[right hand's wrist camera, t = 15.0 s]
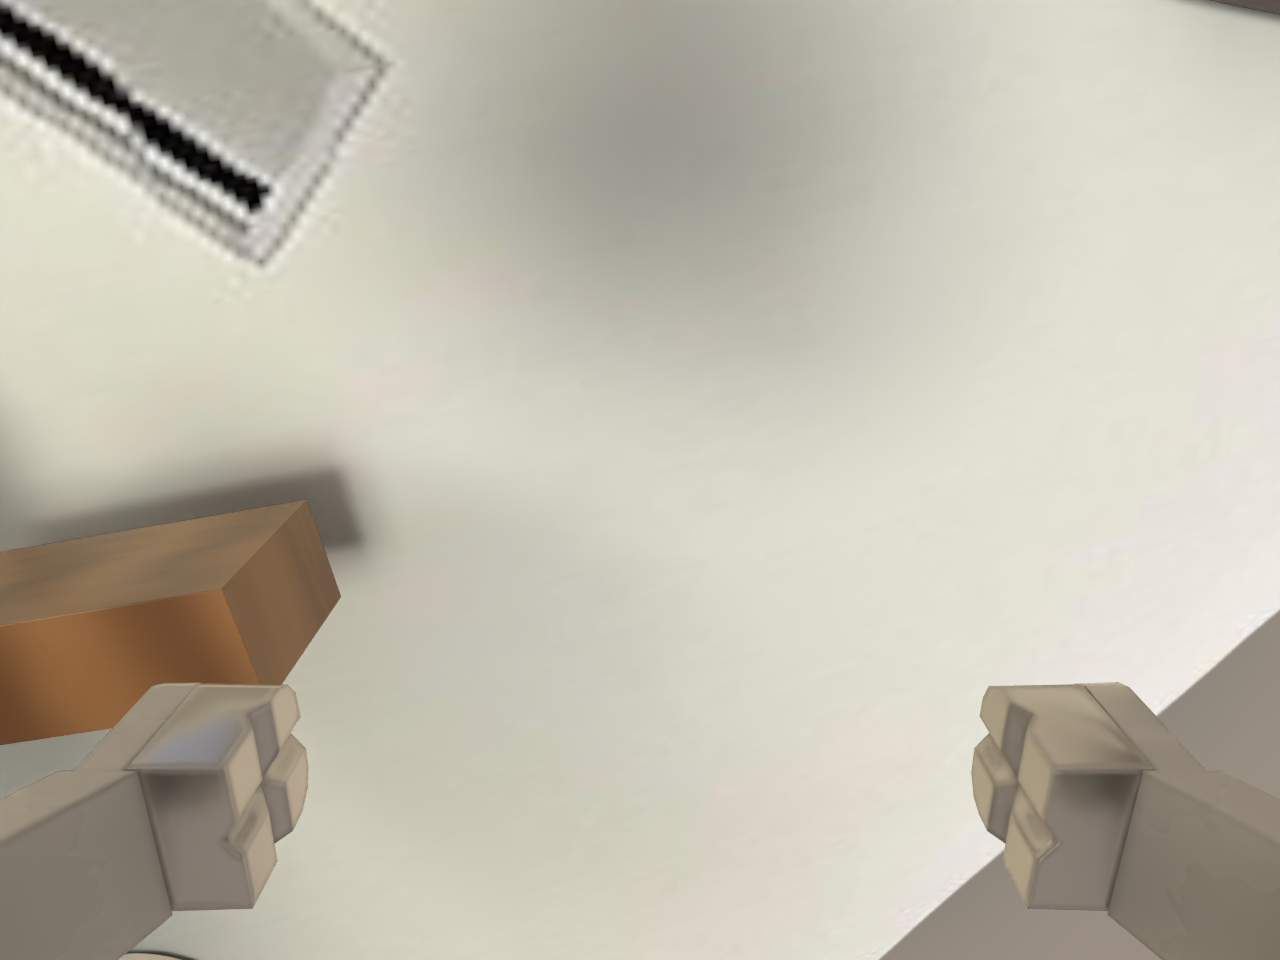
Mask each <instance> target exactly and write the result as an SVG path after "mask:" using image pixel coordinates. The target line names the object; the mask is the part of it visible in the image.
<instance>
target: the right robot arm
mask: <svg viewBox="0 0 1280 960" xmlns="http://www.w3.org/2000/svg"><path fill="white" fill-rule="evenodd" d="M299 718H300V712H299V707H298V702H297V697H296V693H295V691H294V690H293V689H292V688H291V687H290V686H288V685H273V684H225V683H205V684H201V683H162V684H158V685H155V686H152V687H151V688H150V689H149V690H148V691H147V692H146V693H145V694H144V695H143V696H142V697H141V698H140V699H139V701H138V702H137V703H136V704H135V705H134V706H133V707H132V708H131V709H130V710H129V711H128V712H127V713H126V714H125V716H124V717H123V718H122V719H121V720H120V721H119V722H118V723H117V724H116V725H115V726H114V727H113V728H112V730H111V731H110V732H109V733H108V734H107V735H106V736H105V737H104V738H103V739H102V740H101V741H100V742H99V744H98V745H97V746H96V747H95V748H94V749H93V750H92V751H91V752H90V753H89V754H88V755H87V756H86V757H85V759H84V760H83V761H82V762H81V763H80V764H79V765H78V766H77V767H76V768H75V769H74V770H73V771H57V772H55V773H53V774H51V775H49V776H47V777H45V778H43V779H41V780H39V781H37V782H35V783H33V784H31V785H28V786H26V787H24V788H22V789H20V790H18V791H16V792H14V793H12V794H10V795H8V796H6V797H4V798H2V799H0V960H118V959H120V958H121V957H122V956H123V955H125V954H126V953H127V952H128V951H129V950H131V949H132V948H133V947H134V946H135V945H137V944H138V943H139V942H140V941H142V940H143V939H144V938H145V937H146V936H148V935H149V934H150V933H151V932H152V931H154V930H155V929H156V928H157V927H159V926H160V925H161V924H162V923H163V922H165V921H166V920H167V919H168V918H169V917H171V916H172V911H185V910H220V909H253V907H254V905H255V903H256V901H257V899H258V897H259V895H260V893H261V891H262V889H263V887H264V886H265V884H266V882H267V880H268V878H269V876H270V874H271V872H272V870H273V868H274V866H275V864H276V862H277V856H276V850H275V845H274V844H275V843H276V842H277V841H279V840H280V839H282V838H283V837H285V836H286V835H287V834H289V833H290V832H292V831H293V829H294V827H295V825H296V823H297V821H298V819H299V817H300V815H301V813H302V810H303V806H304V801H305V797H306V792H307V788H308V762H307V755H306V748H305V747H304V746H303V745H302V744H301V743H300V742H299V741H298V740H297V739H296V738H295V737H294V736H293V735H292V734H291V731H292V729H293V728H294V726H295V724H296V723H297V721H298V719H299ZM980 718H981V719H982V721H983V723H984V724H985V726H986V728H987V729H988V731H989V734H988V735H987V736H986V737H985V738H984V739H983V740H982V741H981V742H980V743H979V744H978V745H977V746H976V747H975V748H974V756H973V764H972V772H971V773H972V783H973V794H974V799H975V802H976V806H977V809H978V812H979V815H980V817H981V819H982V821H983V823H984V825H985V827H986V829H987V831H988V832H990V833H991V834H993V835H994V836H995V837H997V838H998V839H1000V840H1001V841H1003V842H1004V843H1005V844H1006V845H1005V850H1004V856H1003V862H1004V864H1005V866H1006V868H1007V870H1008V872H1009V874H1010V876H1011V878H1012V880H1013V882H1014V883H1015V885H1016V887H1017V889H1018V891H1019V893H1020V895H1021V897H1022V899H1023V901H1024V902H1025V904H1026V906H1027V908H1028V909H1059V910H1095V911H1108V915H1109V916H1110V917H1111V918H1112V919H1113V920H1115V921H1116V922H1117V923H1118V924H1119V925H1121V926H1122V927H1123V928H1124V929H1126V930H1127V931H1128V932H1129V933H1131V934H1132V935H1133V936H1134V937H1135V938H1136V939H1138V940H1139V941H1140V942H1141V943H1142V944H1144V945H1145V946H1146V947H1147V948H1149V949H1150V950H1151V951H1152V952H1153V953H1155V954H1156V955H1157V956H1158V957H1159V958H1161V959H1162V960H1280V799H1278V798H1276V797H1274V796H1272V795H1270V794H1268V793H1266V792H1264V791H1262V790H1260V789H1258V788H1256V787H1254V786H1251V785H1249V784H1247V783H1245V782H1243V781H1241V780H1239V779H1237V778H1235V777H1233V776H1231V775H1229V774H1227V773H1225V772H1223V771H1207V770H1206V769H1205V768H1204V767H1203V766H1202V765H1201V764H1200V763H1199V762H1198V761H1197V760H1196V759H1195V757H1194V756H1193V755H1192V754H1191V753H1190V752H1189V751H1188V750H1187V749H1186V748H1185V747H1184V746H1183V745H1182V743H1181V742H1180V741H1179V740H1178V739H1177V738H1176V737H1175V736H1174V735H1173V734H1172V733H1171V732H1170V731H1169V729H1168V728H1167V727H1166V726H1165V725H1164V724H1163V723H1162V722H1161V721H1160V720H1159V719H1158V718H1157V717H1156V715H1155V714H1154V713H1153V712H1152V711H1151V710H1150V709H1149V708H1148V707H1147V706H1146V705H1145V704H1144V703H1143V701H1142V700H1141V699H1140V698H1139V697H1138V696H1137V695H1136V694H1135V693H1134V692H1133V691H1132V690H1131V689H1130V687H1128V686H1125V685H1123V684H1121V683H1119V682H1111V683H1083V684H1071V685H1019V686H989V687H988V689H987V691H986V693H985V695H984V697H983V700H982V706H981V712H980Z"/></svg>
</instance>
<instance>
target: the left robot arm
mask: <svg viewBox="0 0 1280 960" xmlns="http://www.w3.org/2000/svg"><path fill="white" fill-rule="evenodd" d="M118 960H181V959H177V958H174V957H169V956H164V955H157V954H146V953H130V954H125V955H123V956H122V957H121V958H120V959H118Z"/></svg>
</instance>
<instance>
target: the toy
mask: <svg viewBox="0 0 1280 960" xmlns="http://www.w3.org/2000/svg"><path fill="white" fill-rule="evenodd" d="M1212 1H1217V2H1222V3H1227V4H1231V5H1236V6H1241V7H1246V8H1251V9H1256V10H1261V11H1266V12H1271V13H1276V14H1280V0H1212Z"/></svg>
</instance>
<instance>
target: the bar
mask: <svg viewBox="0 0 1280 960" xmlns="http://www.w3.org/2000/svg"><path fill="white" fill-rule="evenodd" d="M340 598H341V595H340V592H339V589H338V587H337V584H336V581H335V578H334V575H333V572H332V569H331V567H330V564H329V561H328V558H327V555H326V552H325V549H324V546H323V544H322V541H321V538H320V535H319V532H318V529H317V526H316V524H315V521H314V518H313V515H312V512H311V509H310V506H309V504H308V501H307V500H302V501H296V502H290V503H284V504H278V505H272V506H266V507H261V508H255V509H249V510H243V511H237V512H231V513H225V514H220V515H214V516H208V517H202V518H196V519H190V520H184V521H178V522H173V523H167V524H161V525H155V526H149V527H143V528H137V529H132V530H126V531H120V532H114V533H108V534H102V535H96V536H90V537H85V538H79V539H73V540H67V541H61V542H55V543H49V544H44V545H38V546H32V547H26V548H20V549H14V550H8V551H2V552H0V745H4V744H11V743H17V742H24V741H30V740H37V739H44V738H50V737H57V736H63V735H70V734H76V733H83V732H90V731H96V730H103V729H109V728H113V727H114V726H115V725H116V724H117V723H118V722H119V721H120V720H121V719H122V718H123V717H124V716H125V714H126V713H127V712H128V711H129V710H130V709H131V708H132V707H133V706H134V705H135V704H136V703H137V702H138V701H139V699H140V698H141V697H142V696H143V695H144V694H145V693H146V692H147V691H148V690H149V689H150V688H151V687H152V686H155V685H158V684H162V683H201V684H205V683H225V684H273V685H282V683H283V682H284V680H285V679H286V677H287V676H288V674H289V673H290V671H291V670H292V668H293V667H294V665H295V664H296V663H297V661H298V660H299V658H300V657H301V655H302V654H303V652H304V651H305V649H306V648H307V646H308V645H309V643H310V642H311V640H312V639H313V637H314V636H315V634H316V633H317V632H318V630H319V629H320V627H321V626H322V624H323V623H324V621H325V620H326V618H327V617H328V615H329V614H330V612H331V611H332V609H333V608H334V606H335V605H336V603H337V602H338V601H339V599H340Z"/></svg>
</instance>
